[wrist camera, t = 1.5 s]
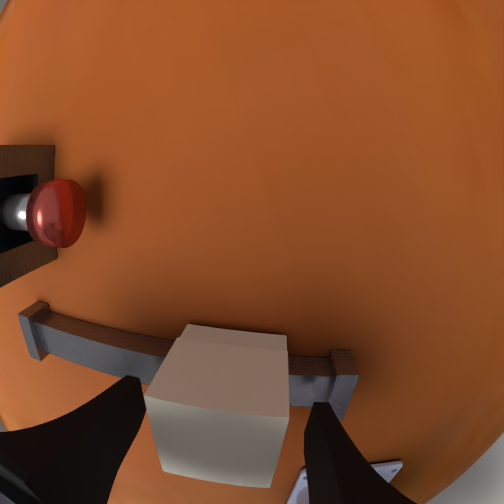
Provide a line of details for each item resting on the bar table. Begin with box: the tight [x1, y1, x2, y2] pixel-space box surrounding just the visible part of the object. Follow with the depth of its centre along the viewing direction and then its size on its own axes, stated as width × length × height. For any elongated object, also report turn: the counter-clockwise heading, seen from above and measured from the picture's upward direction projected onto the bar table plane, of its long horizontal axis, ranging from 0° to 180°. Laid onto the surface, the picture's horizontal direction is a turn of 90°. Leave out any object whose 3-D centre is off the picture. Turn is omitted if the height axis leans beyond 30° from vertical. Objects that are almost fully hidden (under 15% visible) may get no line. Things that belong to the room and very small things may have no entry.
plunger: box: [0, 180, 86, 248], centre depth 9 cm, size 3×4×3 cm, turn 86°
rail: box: [18, 301, 359, 421], centre depth 13 cm, size 3×18×2 cm, turn 86°
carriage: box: [144, 324, 289, 488], centre depth 11 cm, size 5×4×5 cm
